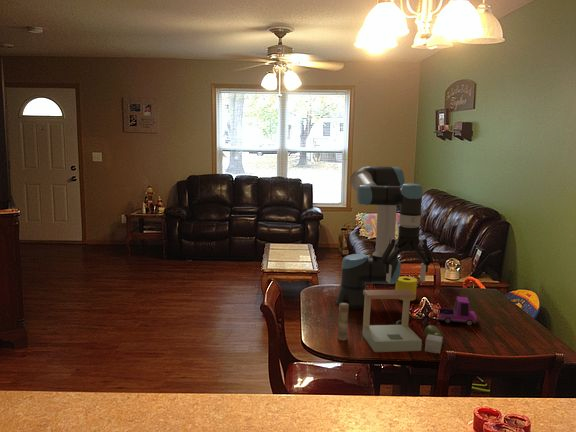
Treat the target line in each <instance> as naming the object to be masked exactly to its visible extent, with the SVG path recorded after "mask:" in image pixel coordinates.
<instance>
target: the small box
mask: <svg viewBox="0 0 576 432" xmlns="http://www.w3.org/2000/svg"><path fill="white" fill-rule="evenodd" d="M442 339H444V336H443V337H440V336H435V335H430V334H428V335H427V337H426V338H425V343H424V344H425V345H424V352H427V353H428V352H429V353H432V354H437V353H439V354H441V351H442V345H443V344H442Z"/></svg>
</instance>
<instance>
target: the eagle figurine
mask: <svg viewBox="0 0 576 432" xmlns="http://www.w3.org/2000/svg"><path fill="white" fill-rule="evenodd" d="M410 318H411V314H410V313H409V320H410ZM401 324H402V319H399V320H397V321H395V324H394V325H401ZM411 325H413V322H411V323H410V324H409V323H408V327H410V326H411Z"/></svg>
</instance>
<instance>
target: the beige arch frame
mask: <svg viewBox="0 0 576 432" xmlns="http://www.w3.org/2000/svg"><path fill="white" fill-rule="evenodd" d="M363 294H364V295H365V299H364V308H363V316H362V317H363V319H362V327H363V326H364V328H366V327H369V325H371V324H370V323H371V322H370V319H371V306H372V305H371V304H372V300H390V299H391V300H392V299H393V300H399V299H403V300H402V309H401V310H402V312H401V313H402V314H401V321H402V324H401V325H402V326H403V327H405V326H408V325H409V320H410V319H409V314H410V305H411V304H410V303H411V301H410V298H415V297H417V294H416V295H415V294H414V293H413V292H412V291H411V290H395V289H366V290H363ZM408 327H409V326H408Z"/></svg>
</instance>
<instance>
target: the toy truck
mask: <svg viewBox="0 0 576 432" xmlns="http://www.w3.org/2000/svg"><path fill="white" fill-rule="evenodd" d="M470 305H471V304H470V301H469V298H468V296H458V295H457V296H456V299H455V303H454V307H453V309H452V308H443V307H442V308H441V307H438V308H439V309H440V313H439V309H438V315H437V318H438V319H437V320H438V321H444V322H445V323H446V324H451V322H455V323H456V322H457V323H464V324H466V325H467V326H472V325H473V324H477V323H478V317H477V315H476V313H475V311H474V310H471V308H470Z"/></svg>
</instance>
